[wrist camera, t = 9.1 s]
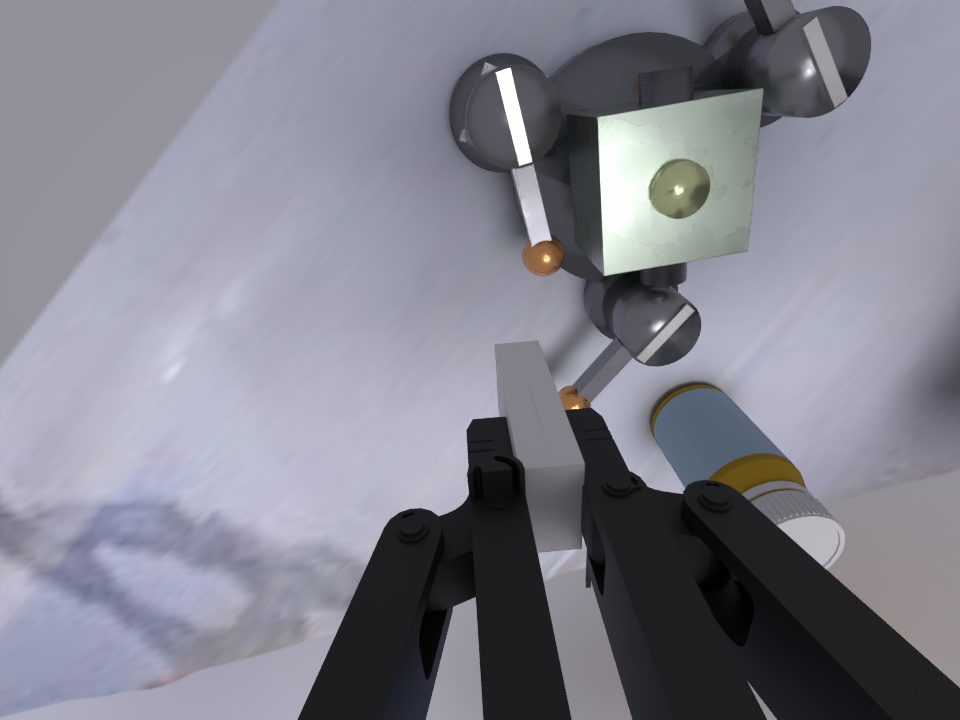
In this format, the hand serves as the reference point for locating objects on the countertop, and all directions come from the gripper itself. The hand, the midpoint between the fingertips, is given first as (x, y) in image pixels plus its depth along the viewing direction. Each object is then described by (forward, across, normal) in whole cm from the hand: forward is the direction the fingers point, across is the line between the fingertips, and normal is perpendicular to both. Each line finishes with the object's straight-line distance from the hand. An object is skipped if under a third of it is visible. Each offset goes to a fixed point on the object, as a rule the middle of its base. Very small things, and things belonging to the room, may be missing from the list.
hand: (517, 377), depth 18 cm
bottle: (+20, +17, -17) cm, 31 cm away
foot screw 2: (+18, +8, -8) cm, 21 cm away
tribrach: (+20, +10, +2) cm, 23 cm away
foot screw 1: (+18, +2, +4) cm, 19 cm away
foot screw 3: (+18, +15, +12) cm, 26 cm away
